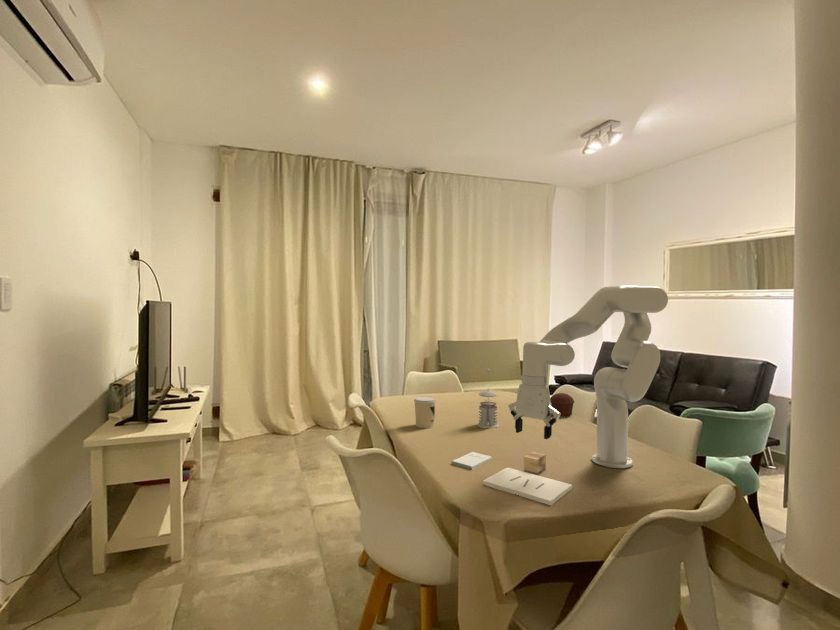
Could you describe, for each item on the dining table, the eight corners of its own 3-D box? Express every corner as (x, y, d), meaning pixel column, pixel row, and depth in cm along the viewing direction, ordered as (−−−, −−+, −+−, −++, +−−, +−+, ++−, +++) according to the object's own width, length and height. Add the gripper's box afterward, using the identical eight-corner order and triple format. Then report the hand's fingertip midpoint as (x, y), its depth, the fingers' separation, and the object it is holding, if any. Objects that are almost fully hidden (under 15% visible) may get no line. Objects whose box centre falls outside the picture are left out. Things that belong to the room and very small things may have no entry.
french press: (499, 422, 198) (499, 367, 198) (499, 429, 187) (499, 371, 187) (477, 421, 200) (477, 366, 200) (476, 428, 189) (476, 370, 188)
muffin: (573, 412, 218) (573, 392, 218) (576, 417, 207) (576, 396, 207) (548, 411, 221) (548, 391, 221) (549, 416, 210) (549, 395, 210)
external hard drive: (451, 465, 146) (471, 455, 156) (472, 471, 141) (492, 460, 151) (451, 460, 146) (471, 451, 156) (472, 466, 141) (492, 456, 151)
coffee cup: (435, 428, 189) (435, 400, 189) (413, 428, 189) (413, 400, 189) (435, 423, 198) (435, 396, 198) (414, 423, 198) (414, 396, 198)
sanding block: (532, 466, 144) (532, 451, 144) (545, 470, 141) (545, 454, 141) (523, 472, 139) (523, 456, 139) (537, 475, 136) (537, 459, 136)
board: (507, 471, 140) (507, 467, 140) (572, 488, 126) (572, 484, 126) (483, 484, 129) (482, 480, 129) (551, 505, 116) (551, 500, 116)
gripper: (504, 378, 142) (502, 431, 143) (555, 386, 131) (553, 443, 131) (515, 376, 148) (514, 427, 148) (565, 383, 137) (564, 438, 137)
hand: (532, 435), depth 140 cm, fingers open, 9 cm apart
